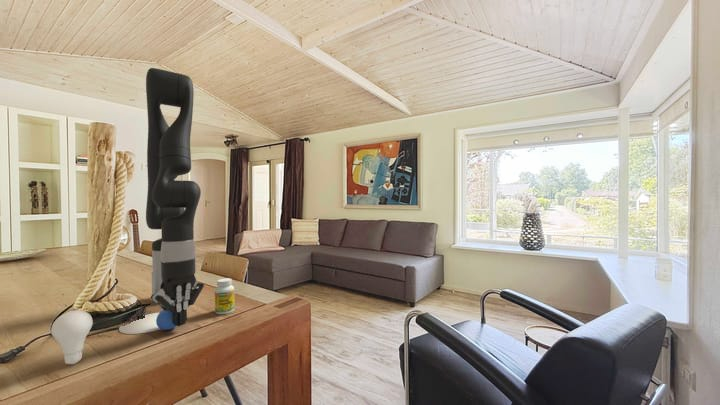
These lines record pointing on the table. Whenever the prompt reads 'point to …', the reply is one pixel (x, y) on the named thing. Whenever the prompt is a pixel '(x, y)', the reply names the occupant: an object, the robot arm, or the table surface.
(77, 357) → the lightbulb
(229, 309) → the supplement bottle
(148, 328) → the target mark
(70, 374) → the table surface
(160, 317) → the ball
